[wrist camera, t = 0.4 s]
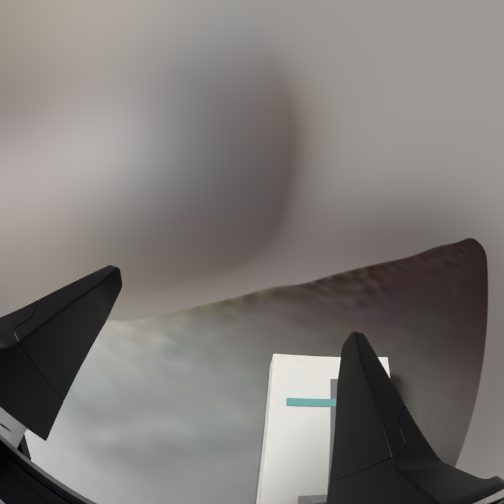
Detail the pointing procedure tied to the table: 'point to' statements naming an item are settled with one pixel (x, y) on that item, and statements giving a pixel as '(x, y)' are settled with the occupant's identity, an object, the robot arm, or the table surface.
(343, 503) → the robot arm
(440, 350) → the table surface
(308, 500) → the fader
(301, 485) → the console
